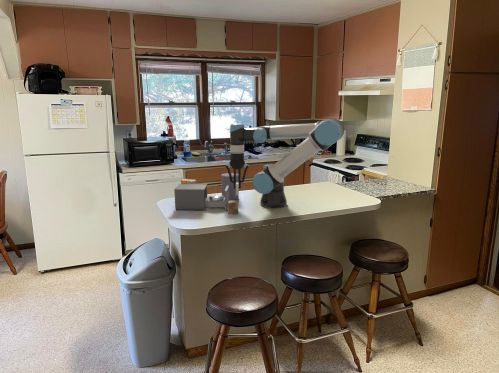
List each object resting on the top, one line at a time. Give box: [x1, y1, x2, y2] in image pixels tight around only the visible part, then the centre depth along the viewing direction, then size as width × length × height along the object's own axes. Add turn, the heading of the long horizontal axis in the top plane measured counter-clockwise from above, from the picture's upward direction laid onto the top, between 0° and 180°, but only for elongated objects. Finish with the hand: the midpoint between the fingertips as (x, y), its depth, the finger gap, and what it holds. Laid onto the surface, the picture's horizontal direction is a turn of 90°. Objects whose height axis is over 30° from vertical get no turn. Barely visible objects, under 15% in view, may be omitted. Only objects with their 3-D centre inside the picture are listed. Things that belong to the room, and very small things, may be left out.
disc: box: [208, 194, 224, 201], centre depth 210 cm, size 8×8×2 cm
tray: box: [204, 186, 229, 211], centre depth 210 cm, size 16×12×11 cm
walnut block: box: [227, 199, 239, 215], centre depth 202 cm, size 5×5×6 cm
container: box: [220, 172, 240, 200], centre depth 228 cm, size 10×10×15 cm
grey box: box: [173, 183, 208, 212], centre depth 210 cm, size 16×12×12 cm
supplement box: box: [180, 178, 197, 184], centre depth 223 cm, size 8×5×13 cm, turn 70°
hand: (237, 194), depth 209 cm, fingers closed
